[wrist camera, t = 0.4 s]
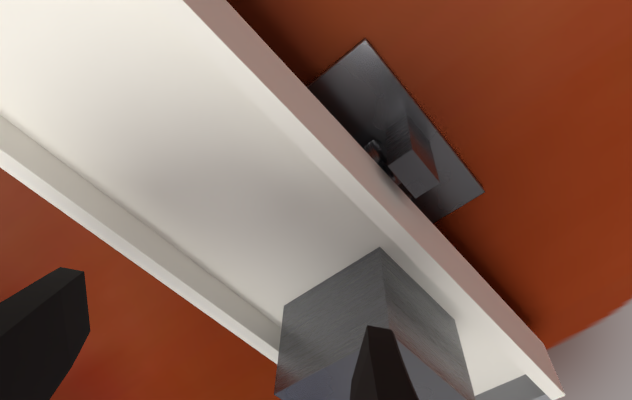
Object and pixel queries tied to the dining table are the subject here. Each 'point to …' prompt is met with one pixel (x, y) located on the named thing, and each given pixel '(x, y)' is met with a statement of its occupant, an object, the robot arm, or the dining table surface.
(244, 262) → the beam
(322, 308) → the grey block
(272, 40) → the dining table surface
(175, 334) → the dining table surface
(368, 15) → the dining table surface
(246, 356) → the dining table surface
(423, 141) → the stand
